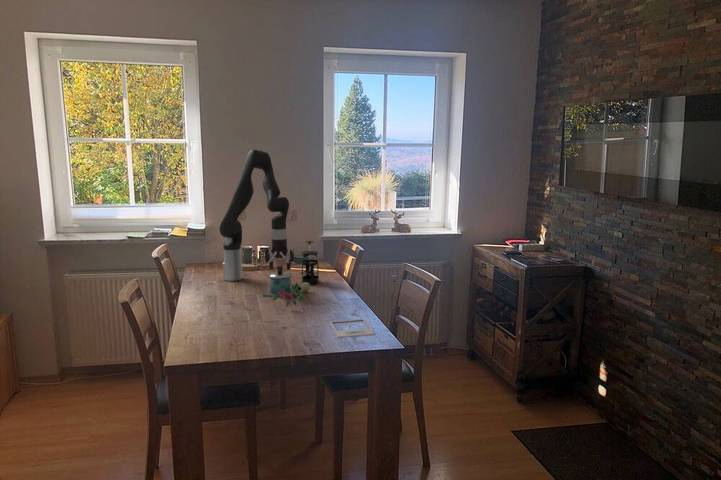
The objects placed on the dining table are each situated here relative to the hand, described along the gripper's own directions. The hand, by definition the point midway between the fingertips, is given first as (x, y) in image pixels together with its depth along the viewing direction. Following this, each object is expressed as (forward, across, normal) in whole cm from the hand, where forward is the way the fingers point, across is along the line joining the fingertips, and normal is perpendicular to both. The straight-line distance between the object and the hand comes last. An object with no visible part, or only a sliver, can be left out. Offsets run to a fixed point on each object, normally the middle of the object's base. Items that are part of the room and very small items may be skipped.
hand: (280, 269), depth 272 cm
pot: (+12, 0, 0) cm, 12 cm away
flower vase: (+12, +12, -11) cm, 21 cm away
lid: (+3, 0, 0) cm, 3 cm away
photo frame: (+13, +46, -45) cm, 65 cm away
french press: (+12, +9, +22) cm, 27 cm away
